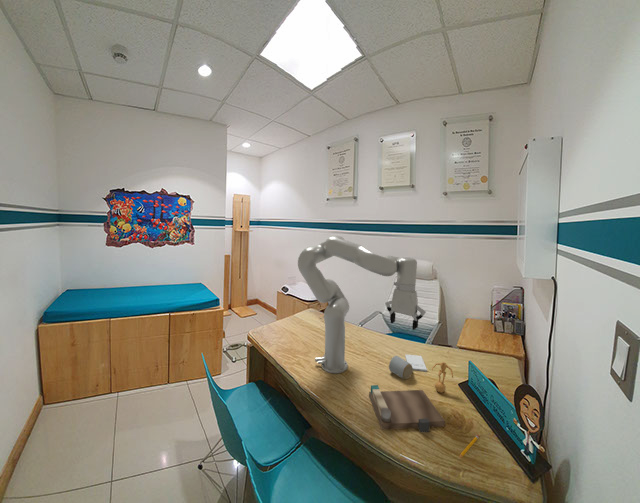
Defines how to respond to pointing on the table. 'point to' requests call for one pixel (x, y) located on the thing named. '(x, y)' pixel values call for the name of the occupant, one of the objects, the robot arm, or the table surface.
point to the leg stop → (423, 425)
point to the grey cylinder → (400, 367)
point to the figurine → (440, 385)
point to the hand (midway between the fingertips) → (403, 325)
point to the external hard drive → (416, 362)
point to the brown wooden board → (407, 409)
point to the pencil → (468, 446)
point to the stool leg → (381, 404)
